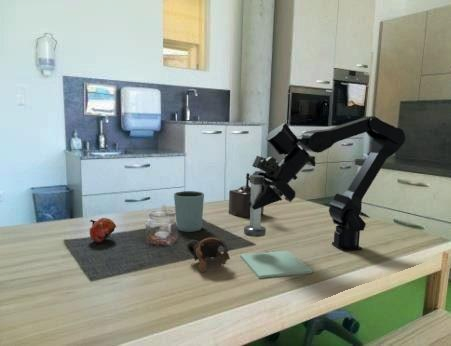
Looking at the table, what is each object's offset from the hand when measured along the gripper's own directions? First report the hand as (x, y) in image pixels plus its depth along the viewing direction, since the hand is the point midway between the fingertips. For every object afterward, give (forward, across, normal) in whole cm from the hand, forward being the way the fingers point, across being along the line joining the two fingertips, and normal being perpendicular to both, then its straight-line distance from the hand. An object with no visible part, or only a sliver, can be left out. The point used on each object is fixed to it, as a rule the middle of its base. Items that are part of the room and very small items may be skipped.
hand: (250, 207), depth 97 cm
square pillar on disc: (+4, 0, +6) cm, 8 cm away
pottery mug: (+19, +5, 0) cm, 20 cm away
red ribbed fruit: (+37, -18, -18) cm, 45 cm away
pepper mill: (0, -41, +20) cm, 46 cm away
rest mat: (+7, +8, +12) cm, 16 cm away
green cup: (+18, -28, +1) cm, 33 cm away
